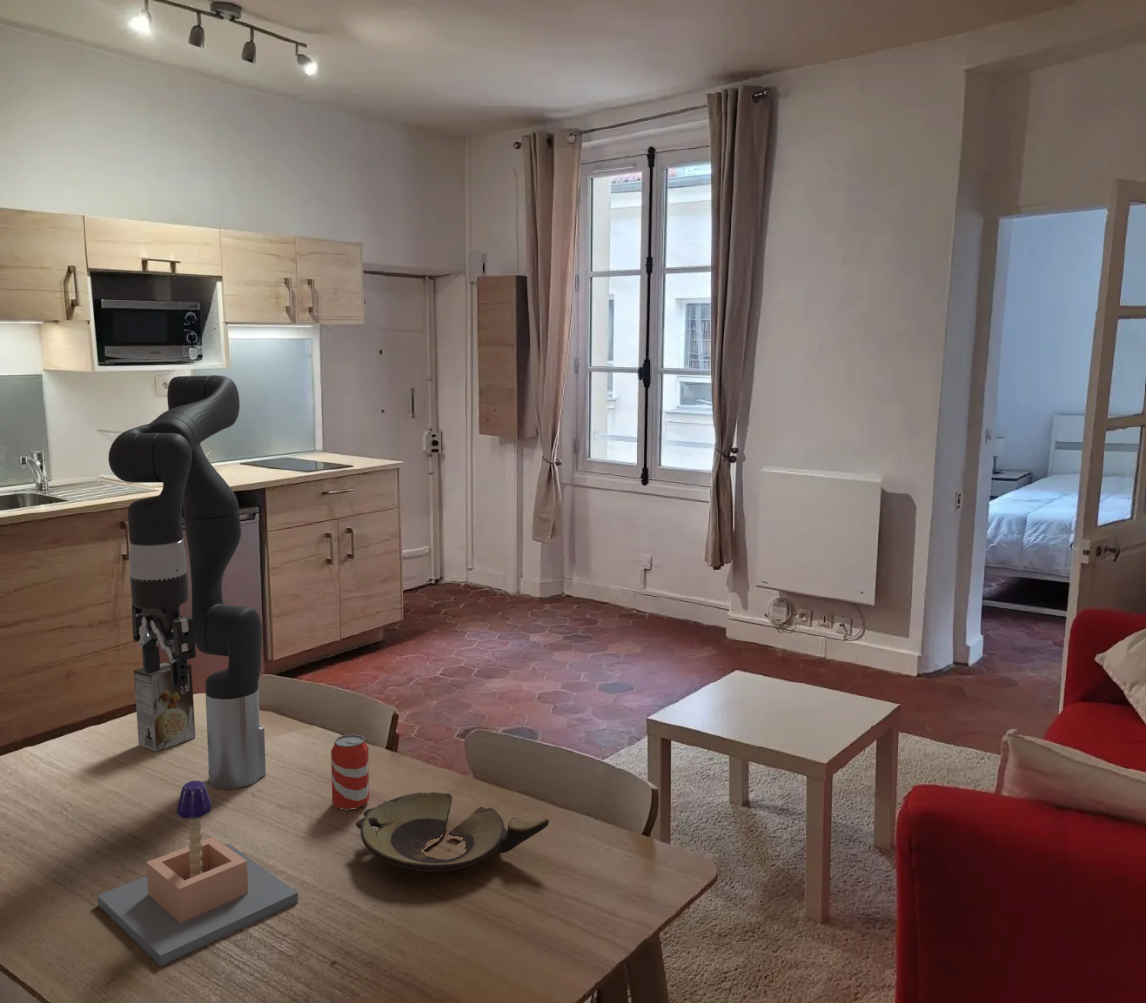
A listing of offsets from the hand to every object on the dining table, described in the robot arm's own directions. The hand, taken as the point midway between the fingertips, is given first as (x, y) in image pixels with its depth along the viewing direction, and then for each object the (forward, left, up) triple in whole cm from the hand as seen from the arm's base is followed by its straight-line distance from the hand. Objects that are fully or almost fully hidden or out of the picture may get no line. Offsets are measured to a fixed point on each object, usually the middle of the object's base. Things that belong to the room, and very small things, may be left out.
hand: (165, 678), depth 136 cm
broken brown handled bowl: (-32, +25, -32) cm, 52 cm away
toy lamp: (+1, +9, -30) cm, 31 cm away
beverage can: (-32, -1, -32) cm, 45 cm away
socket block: (+1, +9, -31) cm, 33 cm away
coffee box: (-22, -51, -32) cm, 64 cm away
